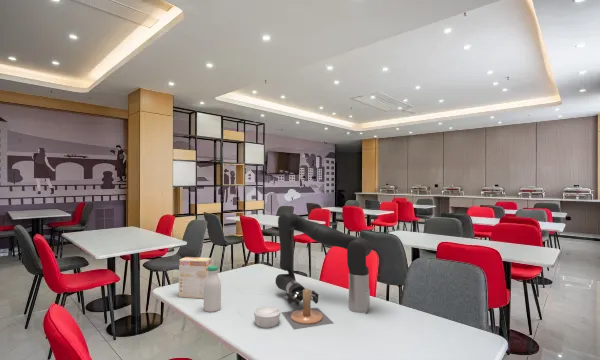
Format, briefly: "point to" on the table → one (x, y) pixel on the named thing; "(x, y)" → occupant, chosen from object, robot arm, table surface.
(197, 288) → the coffeecake box
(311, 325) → the mat
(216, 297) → the milk bottle
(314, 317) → the lid
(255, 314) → the ramekin
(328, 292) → the table surface
